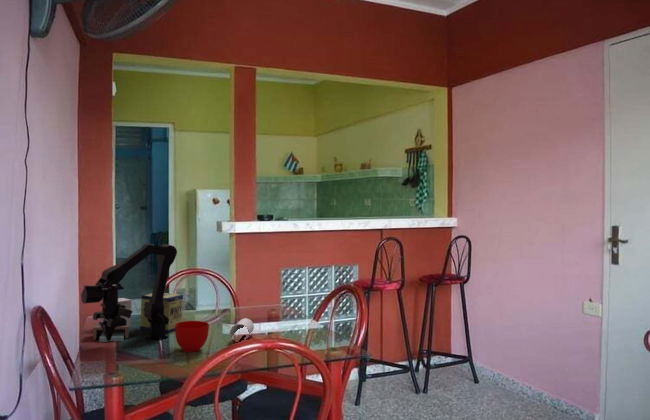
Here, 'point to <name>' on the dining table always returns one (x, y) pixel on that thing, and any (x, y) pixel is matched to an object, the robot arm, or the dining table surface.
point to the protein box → (165, 310)
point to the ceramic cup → (191, 335)
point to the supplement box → (127, 305)
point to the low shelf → (98, 330)
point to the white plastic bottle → (241, 324)
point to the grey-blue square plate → (113, 336)
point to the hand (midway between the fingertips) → (108, 340)
